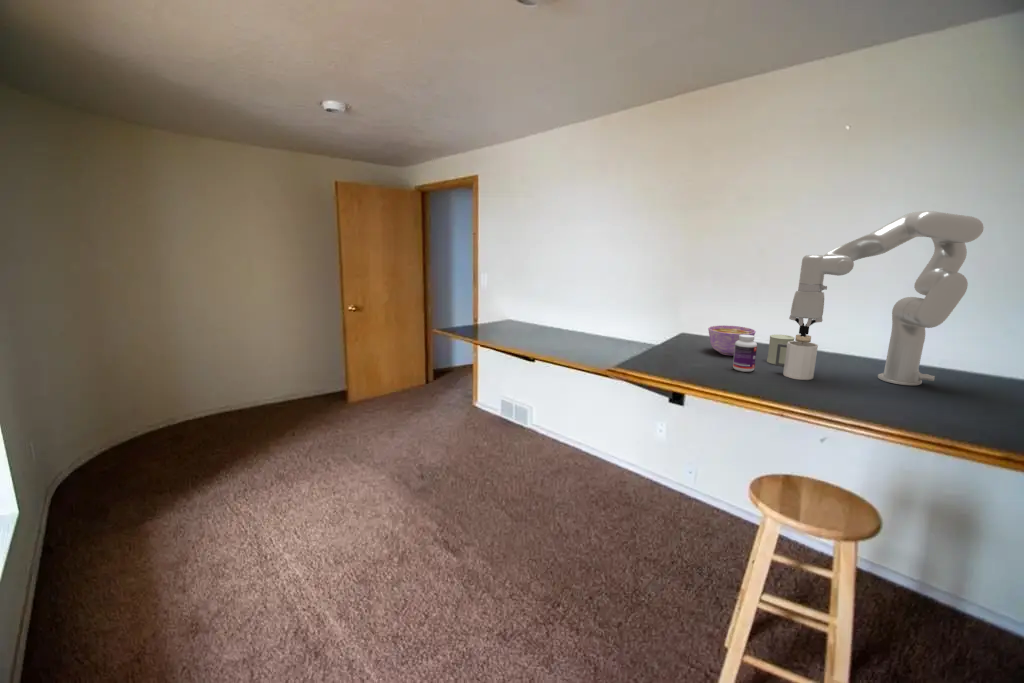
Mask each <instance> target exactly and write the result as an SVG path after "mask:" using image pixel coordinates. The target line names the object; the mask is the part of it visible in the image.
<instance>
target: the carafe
mask: <svg viewBox="0 0 1024 683" xmlns="http://www.w3.org/2000/svg"><path fill="white" fill-rule="evenodd" d="M818 346H819V344H817V343H814V342H804V346H801V342H798V341H795V340H794V341H790V342H788V343H787V344H780V343H778V347H777V355H776V363H775V364H774V366H775V367H782V368H783V373H782V375H783V376H784V377H786V378H790V379H794V380H800V381H810V380H813V379H814V375H815V367H816V360H817V354H818ZM781 347H786V348H787V349H786V357H785V364H783V363H779V358H780V350H781Z"/></svg>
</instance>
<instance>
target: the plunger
mask: <svg viewBox="0 0 1024 683" xmlns="http://www.w3.org/2000/svg"><path fill="white" fill-rule="evenodd" d="M800 335H801V334H795V338H794V341H798V342H801V346H804V342H810V343H812V342H811V340H812V335H809V334H806V336H805V337H804V336H800Z"/></svg>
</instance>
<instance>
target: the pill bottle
mask: <svg viewBox="0 0 1024 683" xmlns="http://www.w3.org/2000/svg"><path fill="white" fill-rule="evenodd" d="M739 339H740V340H738V341H736V343H735V351H734V356H733V362H732V367H733V370H735V371H738V372H742V373H743V372H746V373H748V372H749V373H750V372H753V371H754V370H755V368H756V361H757V360H756V359H757V350H758V344H757V342H756V341H755V335H754V336H752V335H739Z"/></svg>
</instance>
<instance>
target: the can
mask: <svg viewBox="0 0 1024 683" xmlns="http://www.w3.org/2000/svg"><path fill="white" fill-rule="evenodd" d="M790 341H795V337H794V336H792V335H787V334H770V335H769V343H768V353H767V358H766V362H767V363H769V364H772V365H775V363H776V355H777V347H778V343H780V344H787V343H788V342H790ZM786 349H787V348H786V347H781V350H780V358H779V363H783V364H785V357H786Z"/></svg>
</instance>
